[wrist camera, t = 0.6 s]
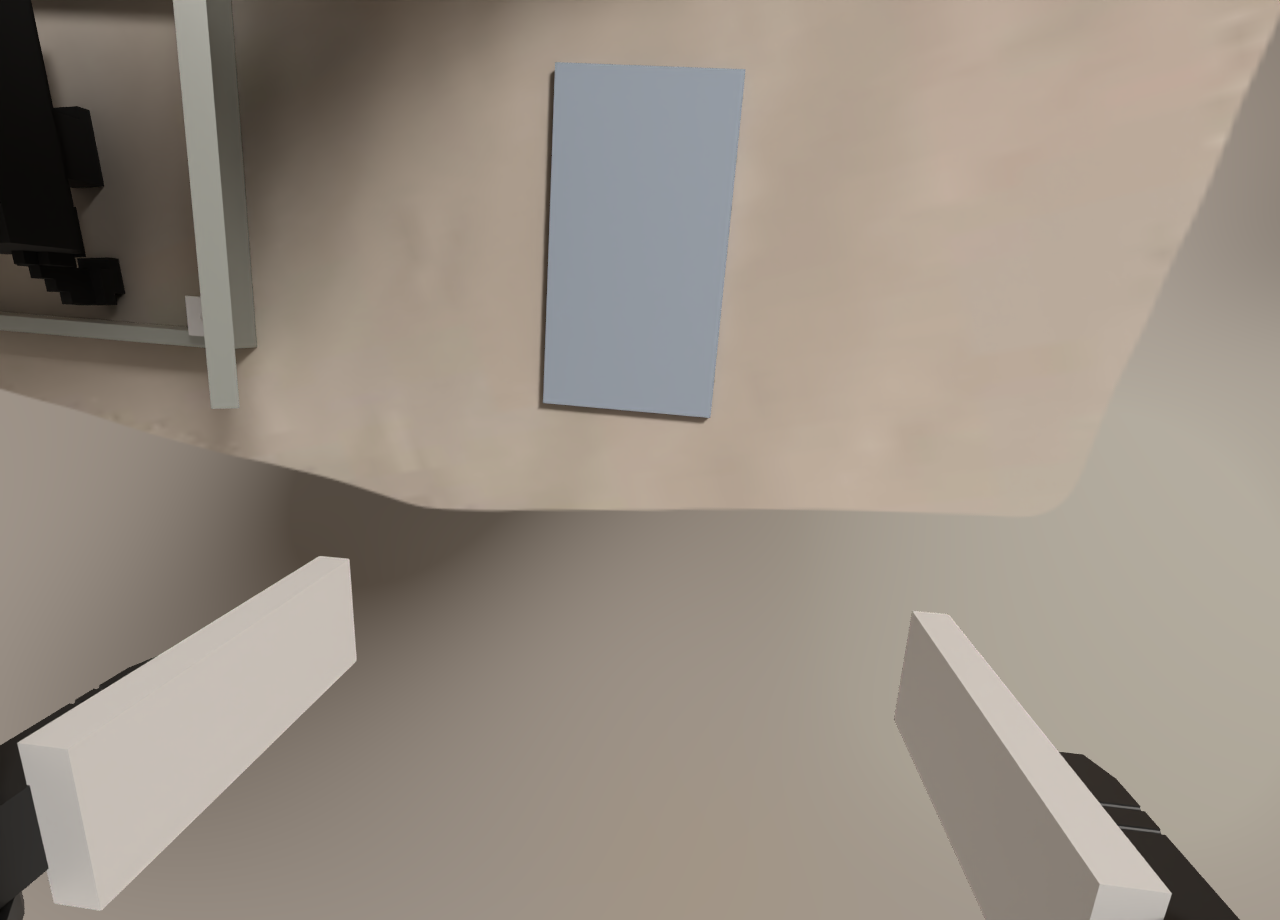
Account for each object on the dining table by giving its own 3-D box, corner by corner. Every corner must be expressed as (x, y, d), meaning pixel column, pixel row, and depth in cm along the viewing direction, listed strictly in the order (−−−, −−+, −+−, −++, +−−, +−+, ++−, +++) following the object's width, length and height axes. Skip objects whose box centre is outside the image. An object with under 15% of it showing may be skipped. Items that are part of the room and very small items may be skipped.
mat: (557, 66, 36) (555, 62, 35) (744, 73, 35) (745, 69, 34) (545, 401, 40) (543, 402, 40) (710, 416, 40) (710, 417, 39)
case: (-108, -48, 39) (-1007, -451, 18) (470, -34, 35) (148, -511, 15) (-40, 322, 44) (-676, 324, 24) (467, 364, 40) (228, 410, 20)
